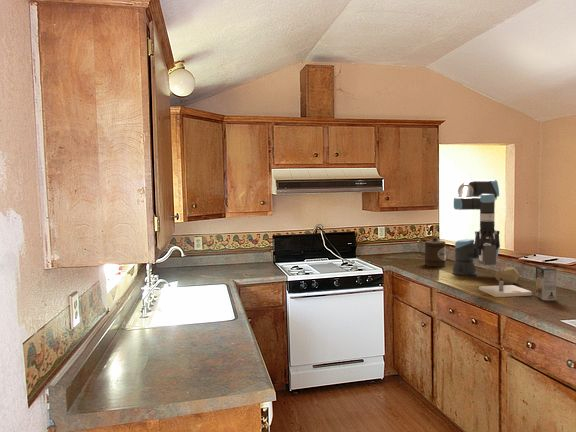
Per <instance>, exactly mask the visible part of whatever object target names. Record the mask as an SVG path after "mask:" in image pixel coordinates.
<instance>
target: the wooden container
mask: <svg viewBox="0 0 576 432" xmlns="http://www.w3.org/2000/svg"><path fill="white" fill-rule="evenodd" d="M424 246H425V247H424V266H426V265H427V267H431V266H436V267H435V268H442V266H443V267H446V241H445V240H438V237H437V236H433V237H432V240H426V241H425V242H424Z"/></svg>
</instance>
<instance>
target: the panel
mask: <svg viewBox="0 0 576 432" xmlns="http://www.w3.org/2000/svg"><path fill="white" fill-rule="evenodd" d="M478 289H479V291H481V292H483V293H486V294H488V295H491V296H492V297H495V298H502V297H503V298H504V297H506V298H507V297H524V296H525V297H526V296H527V297H528V296H533V291H531V290H528V289H525V288H523V287H520V286H517V285H514V284H504V282H503V281H498V285H483V286H480V285H479V287H478Z"/></svg>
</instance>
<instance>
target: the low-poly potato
mask: <svg viewBox="0 0 576 432" xmlns="http://www.w3.org/2000/svg"><path fill="white" fill-rule="evenodd" d="M519 275H520V273H519V272H518V270H517V269H516V268H515V267H513V266H512V267H511V266H506V267H505V268H504V269H503V270H498V271H496V272H495V277H494V278H495V279H496V280H497V281H498V282H499V281H503V282H504V285H514V283H515V284H516V282H517V281H518V279H519Z"/></svg>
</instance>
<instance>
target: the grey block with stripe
mask: <svg viewBox="0 0 576 432" xmlns="http://www.w3.org/2000/svg"><path fill="white" fill-rule="evenodd" d="M482 250H483V261H480V260H479V259H478V261H477V263H478V264H481V265H483V266H496V265H497V259H496V245H493V244H488V243H485V244H483V247H482Z"/></svg>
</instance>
